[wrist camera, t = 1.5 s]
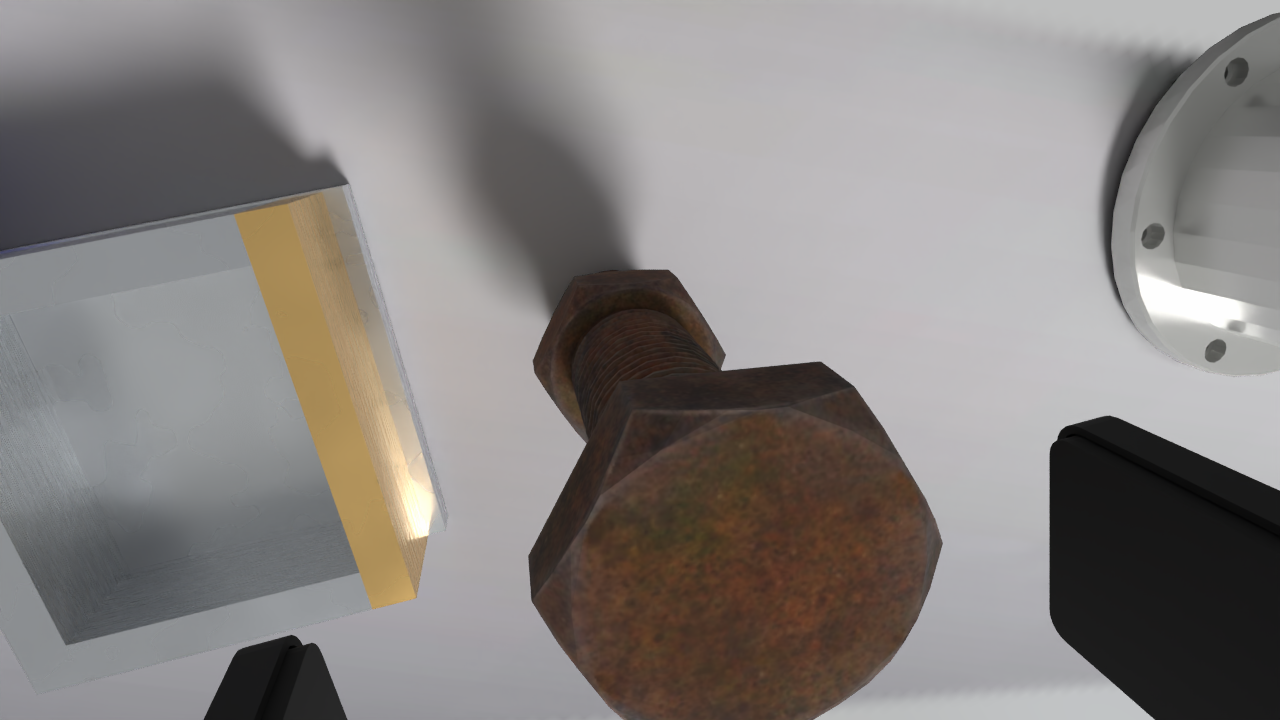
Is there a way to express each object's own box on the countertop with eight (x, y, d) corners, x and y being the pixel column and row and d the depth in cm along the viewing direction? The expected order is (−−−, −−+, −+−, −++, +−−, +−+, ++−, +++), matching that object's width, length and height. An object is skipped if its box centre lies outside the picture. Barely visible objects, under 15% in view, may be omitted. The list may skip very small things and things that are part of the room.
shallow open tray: (349, 183, 21) (311, 196, 17) (448, 515, 25) (436, 594, 21) (-63, 262, 20) (-213, 297, 16) (102, 599, 24) (15, 702, 19)
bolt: (487, 287, 23) (460, 539, 9) (623, 195, 23) (816, 301, 9) (591, 428, 25) (706, 820, 11) (717, 344, 25) (999, 628, 11)
